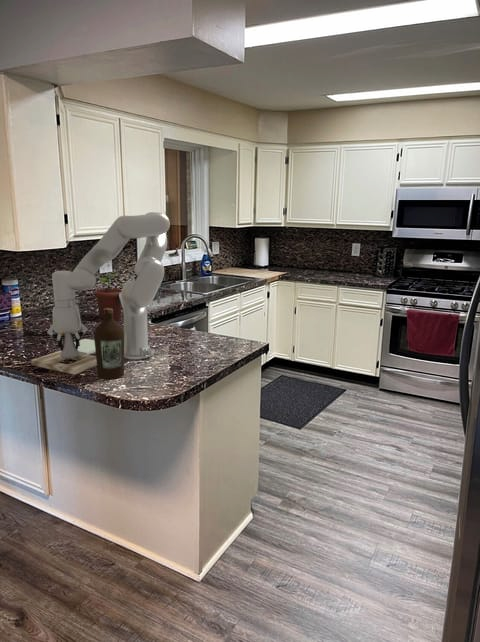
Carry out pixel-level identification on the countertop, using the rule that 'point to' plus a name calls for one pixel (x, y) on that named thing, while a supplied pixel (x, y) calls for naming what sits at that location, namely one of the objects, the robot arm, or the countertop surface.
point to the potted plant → (109, 301)
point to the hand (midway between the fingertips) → (69, 348)
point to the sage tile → (86, 346)
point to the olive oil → (109, 347)
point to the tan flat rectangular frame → (73, 368)
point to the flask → (69, 347)
